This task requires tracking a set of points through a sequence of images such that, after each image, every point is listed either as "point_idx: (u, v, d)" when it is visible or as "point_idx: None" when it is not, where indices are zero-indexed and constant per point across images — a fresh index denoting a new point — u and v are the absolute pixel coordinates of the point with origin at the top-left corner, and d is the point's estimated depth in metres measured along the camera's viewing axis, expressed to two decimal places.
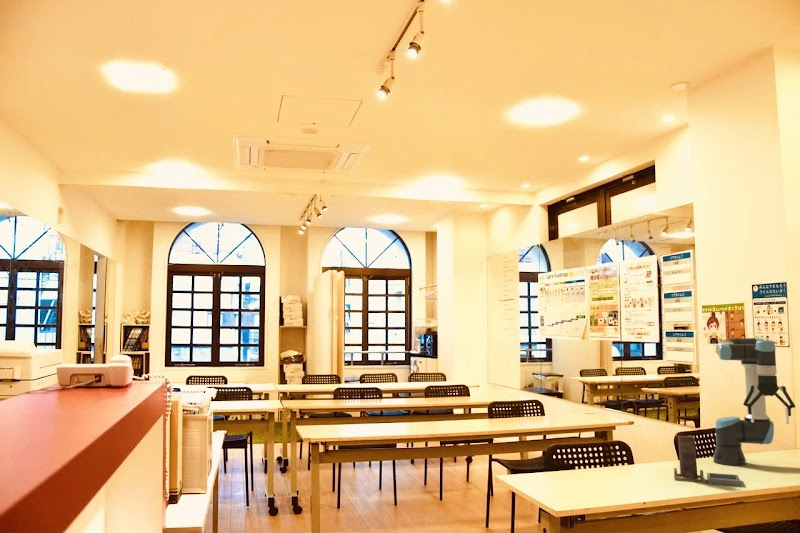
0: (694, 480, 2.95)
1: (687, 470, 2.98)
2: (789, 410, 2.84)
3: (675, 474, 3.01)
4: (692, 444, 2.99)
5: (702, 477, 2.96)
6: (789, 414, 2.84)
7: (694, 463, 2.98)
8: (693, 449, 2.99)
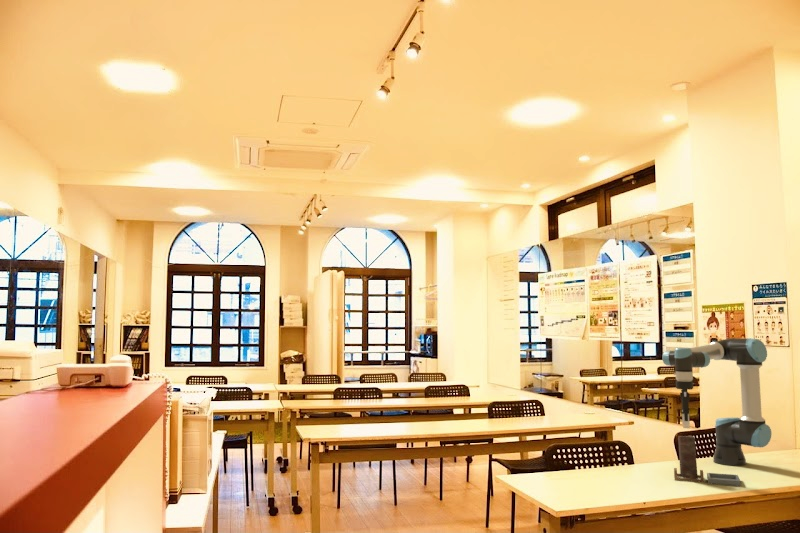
0: (694, 480, 2.95)
1: (687, 470, 2.98)
2: (684, 415, 2.96)
3: (675, 474, 3.01)
4: (692, 444, 2.99)
5: (702, 477, 2.96)
6: (684, 419, 2.96)
7: (694, 463, 2.98)
8: (693, 449, 2.99)
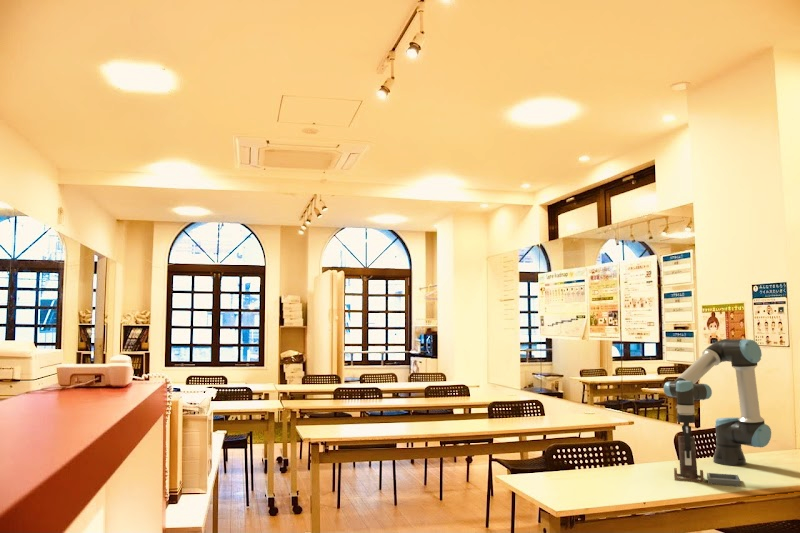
0: (694, 480, 2.95)
1: (687, 470, 2.98)
2: (686, 452, 2.97)
3: (675, 474, 3.01)
4: (692, 444, 2.99)
5: (702, 477, 2.96)
6: (686, 456, 2.97)
7: (694, 463, 2.98)
8: (693, 449, 2.99)
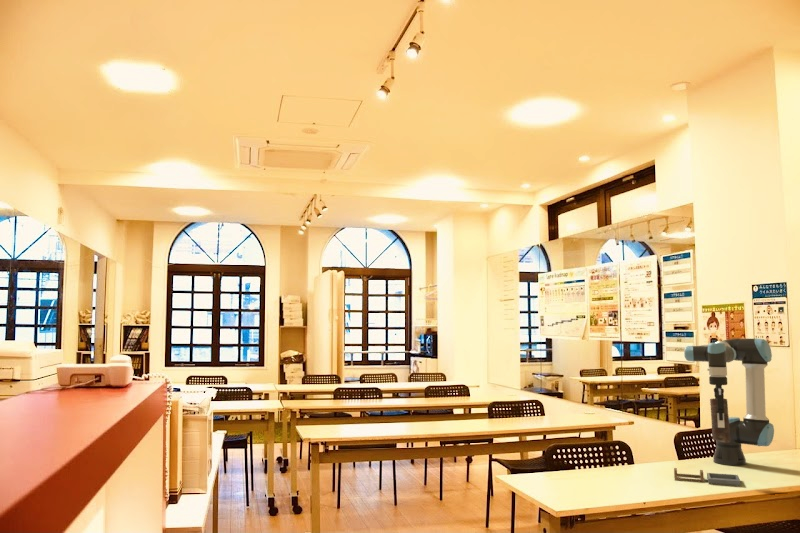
0: (694, 480, 2.95)
1: (720, 432, 2.93)
2: (719, 414, 2.93)
3: (675, 474, 3.01)
4: (725, 406, 2.94)
5: (702, 477, 2.96)
6: (719, 418, 2.93)
7: (727, 425, 2.93)
8: (726, 411, 2.94)
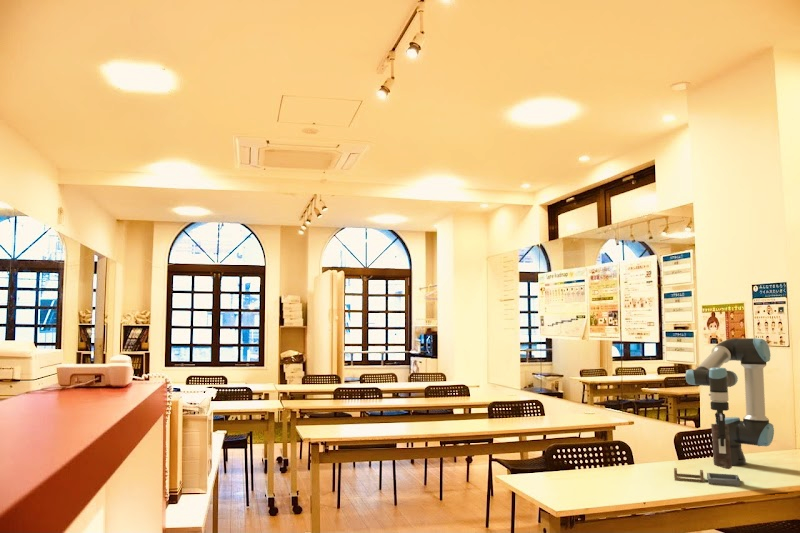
0: (694, 480, 2.95)
1: (721, 458, 2.92)
2: (720, 440, 2.92)
3: (675, 474, 3.01)
4: (726, 432, 2.93)
5: (702, 477, 2.96)
6: (720, 444, 2.92)
7: (728, 451, 2.92)
8: (727, 437, 2.93)
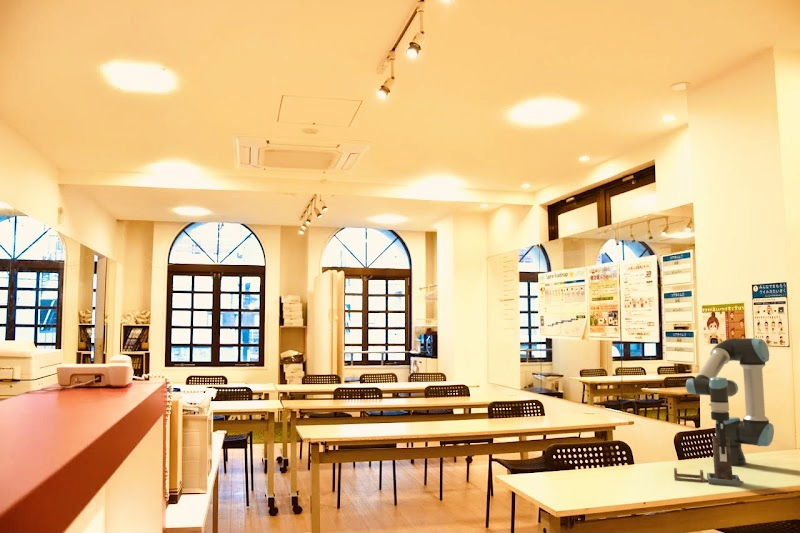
0: (694, 480, 2.95)
1: (722, 471, 2.91)
2: (721, 448, 2.89)
3: (675, 474, 3.01)
4: (727, 445, 2.92)
5: (702, 477, 2.96)
6: (721, 452, 2.89)
7: (729, 464, 2.92)
8: (728, 450, 2.92)
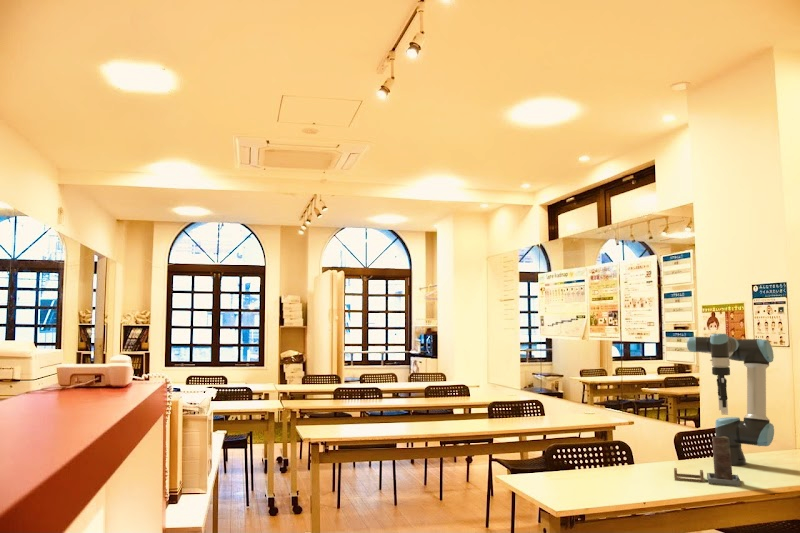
0: (694, 480, 2.95)
1: (722, 472, 2.91)
2: (722, 401, 2.93)
3: (675, 474, 3.01)
4: (727, 445, 2.92)
5: (702, 477, 2.96)
6: (722, 405, 2.93)
7: (729, 465, 2.92)
8: (728, 450, 2.92)
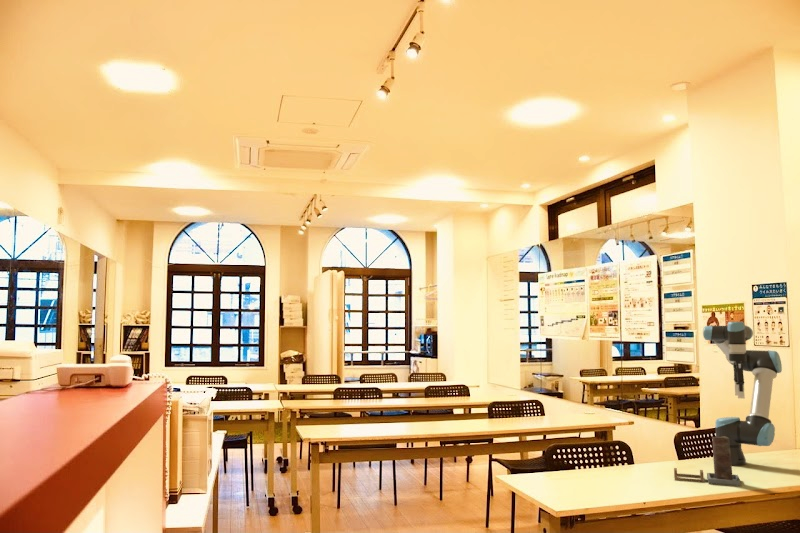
0: (694, 480, 2.95)
1: (722, 472, 2.91)
2: (739, 386, 3.07)
3: (675, 474, 3.01)
4: (727, 445, 2.92)
5: (702, 477, 2.96)
6: (739, 389, 3.07)
7: (729, 465, 2.92)
8: (728, 450, 2.92)
